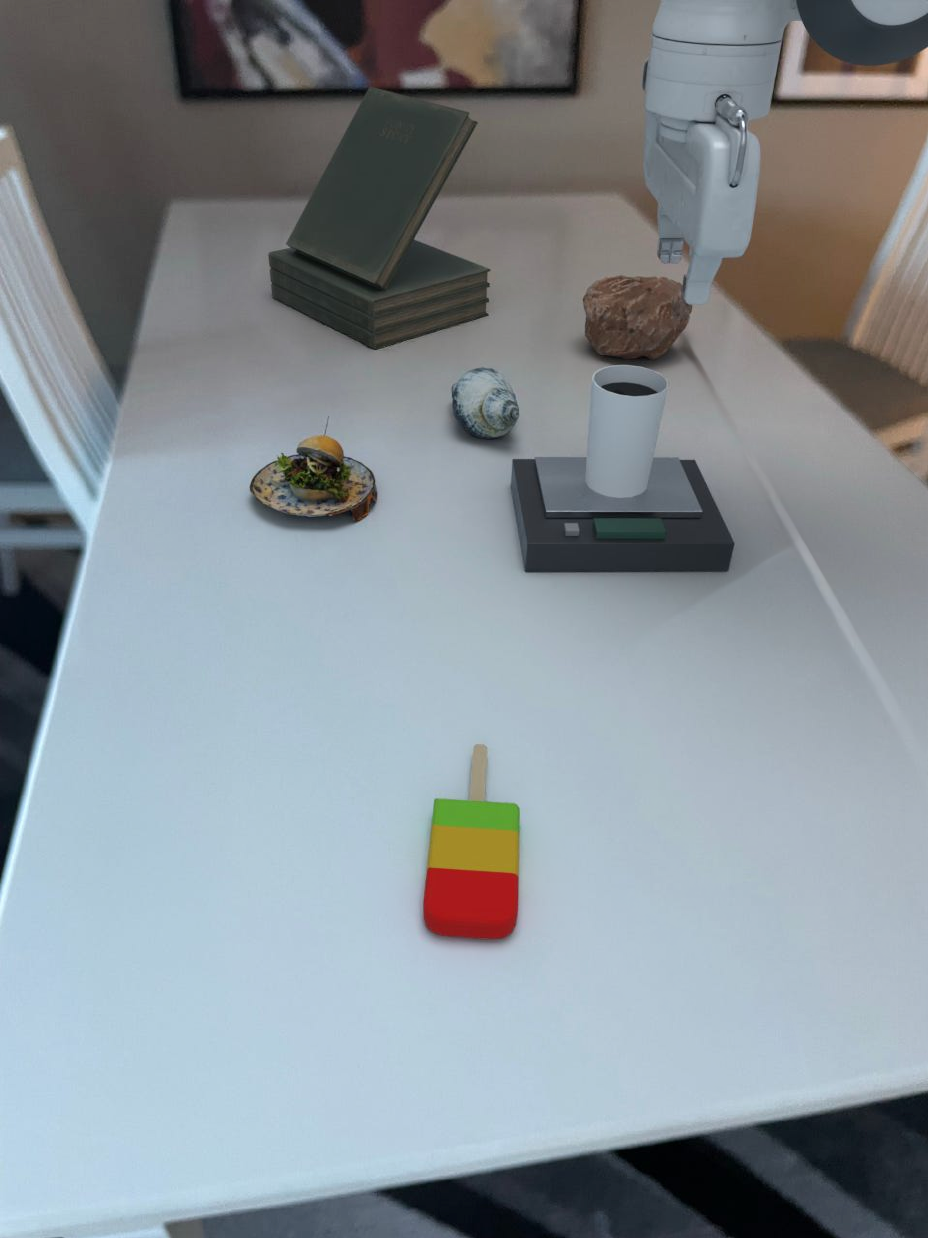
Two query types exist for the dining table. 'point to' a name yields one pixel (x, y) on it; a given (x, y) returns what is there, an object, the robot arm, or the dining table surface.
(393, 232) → the stack of books
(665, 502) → the scale pan
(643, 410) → the white hollow cylinder
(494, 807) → the popsicle
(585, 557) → the scale
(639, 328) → the decorative rock
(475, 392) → the seashell
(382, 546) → the dining table surface
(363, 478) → the burger
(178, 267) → the dining table surface
